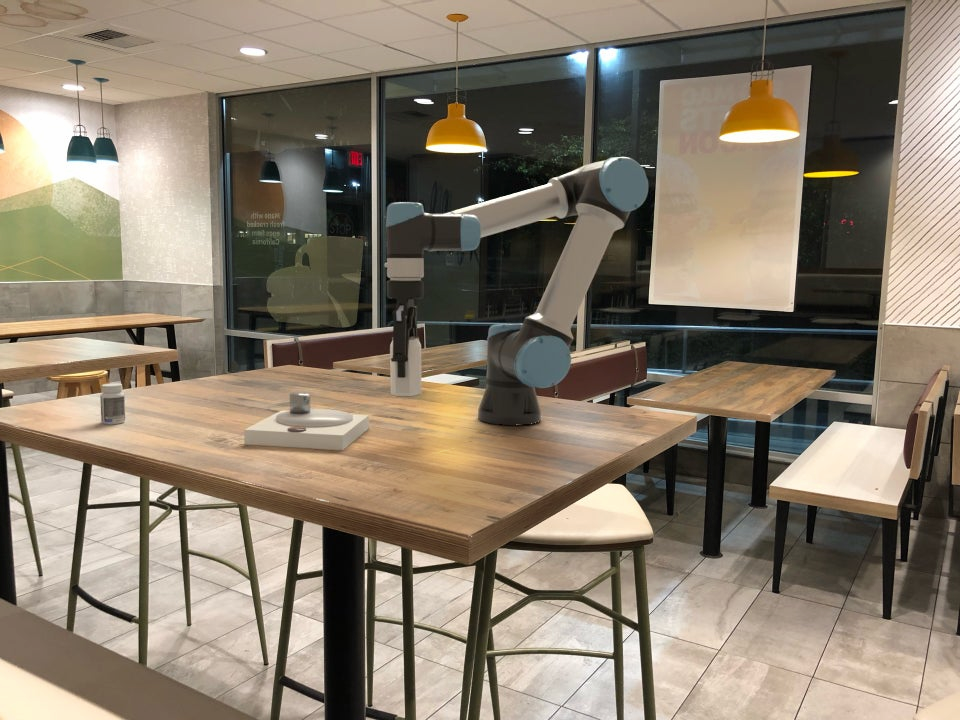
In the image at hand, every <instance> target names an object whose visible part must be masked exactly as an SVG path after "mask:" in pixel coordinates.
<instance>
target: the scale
mask: <svg viewBox="0 0 960 720" xmlns="http://www.w3.org/2000/svg"><path fill="white" fill-rule="evenodd" d="M369 427H370V415H369V414H357V413H356V414H355V413H350V412H347V411H344V410H339V409H326V408H310V413H307V414H292V413H290V410H279V411H278V412H276V413H273V414H271V415H270V416H268V417H266V418H264V419H262V420H259V421H258V422H256V423H253V425H250V426H248V427H247V428H244V431H243V434H244V435H243V437H244V438H243V439H244V441H243V442H244V446H245V445H247V446H262V447H263V446H264V447H265V446H266V447H281V448H296V449H297V448H298V449H314V450H315V449H316V450H328V451H329V450H333V451H344V450H346V448H347V447H349V446H350V445H351V444H352V443H353V442H354V441H356V440H357V439H358V438H359V437H361V436H362V435H363V434H364V433H365V432H366V431H367V430H369V429H370V428H369Z"/></svg>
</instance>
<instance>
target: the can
mask: <svg viewBox="0 0 960 720" xmlns="http://www.w3.org/2000/svg"><path fill="white" fill-rule="evenodd" d="M391 339H392V341H391V342H390V344H389V355H390V356H389V359H390V360H389V364H390V366H389V370H390V374H389V375H390V377H389V380H390V382H389V383H390V394H391V395H392V396H393V397H400V398H413V397H417V396H420V394H421V393H422V344H421V342H420V337H419V336H417V337H414V336H412V337H409V347H408V361H409V393H396V372H395V362H392V361H391V358H393V336H391Z"/></svg>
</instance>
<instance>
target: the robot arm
mask: <svg viewBox="0 0 960 720" xmlns="http://www.w3.org/2000/svg"><path fill="white" fill-rule="evenodd" d="M648 193H649V180H648V178H647V175H646V171H645V169H644V168H643V166H641V164H640V163H639V162H638V161H636V160H635V159H633V158H631V157H628V156H627V157H626V156H619V157H618V156H615V157H614V156H613V157H609V158H607V159H606V160H605V159H604V160H601V161H595V162H591V163H588V164H587V163H586V164H585V165H583V166H579V167H578V168H576V169H574V170H572V171H569V172H567V173H565V174H561V175H559V176H556V177H552V178H550V179H549V180H548V182H547V184H544V185H540V186H536V187H533V188H530V189H526V190H522V191H519V192H515V193H512V194H508V195H505V196H500V197H497V198H494V199H490V200H487V201H483V202H480V203H477V204H473V205H469V206H466V207H462V208H459V209H455V210H451V211H448V212H443V213H428V212H425V210H424V205H423V204H422V203H420V202H411V201H410V202H409V201H407V202H406V201H404V202H403V201H402V202H401V201H399V202H391V203H389V204H388V206H387V207H386V219H385V221H386V222H385V229H386V231H385V233H386V262H384V265H383V266H384V268H387V269H386V277H387V278H389V280H387V281H386V296H387V298H388V299H390V300H392V299H393V300H396V307H394V308H393V309H394V310H392V313H391V314H392V321H393V322H392V327H393V329H392V337H393V358H391V361H392V362H395V372H396V393H409V361H408V347H409V337H412V336H414V337H418V310H419V309H418V306H415V300H421V299H423V298H424V295H425V294H424V293H425V292H424V286H425V285H424V281H423V280H422V279H423V278H424V277H425V275H424V274H425V272H424V271H425V269H424V268H425V267H424V266H425V265H424V264H425V263H424V261H425V260H424V251H428V252H429V253H431V252H436V251H441V252H443V251H450V252H451V251H455V252H457V251H461V252H466V251H475V250H476V249H477V248H478V247H479V245H480V243H481V239H482V238H484V237H487V236H492V235H494V234H498V233H501V232H505V231H508V230H511V229H512V230H513V229H514V228H518V227H522V226H525V225H530V224H532V223H536V222H539V221H543V220H547V219H549V218H550V219H551V218H553V217H557V218H558V219H564V218H568V217H571V216H572V217H573V216H578V217H577V219H576V221H575V223H574V224H573V228H572V230H571V232H570V234H569V237H568V239H567V241H566V244H565V245H564V248H563V250H562V253H561V254H560V257H559V258H558V261H557V263H556V266H555V268H554V269H553V273H552V275H551V277H550V280H548V284H547V286H546V287H545V291H544V292H543V294H542V297H541V300H540V301H539V303H538V306H537V307H536V308H537V309H536V310H535V311H534V313H533V314H530V315H529V316H526V317H525V318H524V320H523V323H504V324H503V323H501V324H500V323H499V324H493V325H490V327H489V328H488V335H487V338H486V340H487V351H486V352H487V353H486V354H487V355H486V361H487V362H486V387H485V390H484V392H483V396H482V397H481V401H480V403H479V407H478V412H477V415H478V416H477V419H478V420H479V421H482V422H485V423H487V424H492V425H493V424H494V425H499V424H502V425H501V426H517V425H516V424H530V425H532V424H531V423H535V422H538V421H540V420H542V417H541V416H542V414H541V413H542V411H541V406H540V403H539V400H538V396H537V392H536V389H537V388H538V389H547V388H550V387H553V386H556V385H557V384H559V383H561V382H562V381H563V379H565V378H566V376H567V374H568V373H569V371H570V368H571V364H572V356H571V353H570V352H571V351H570V347H571V345H572V343H573V340H574V336H573V334H572V331H571V329H572V326H573V324H574V321H575V319H576V317H577V315H578V312H579V310H580V308H581V306H582V303H583V301H584V299H585V297H586V294H587V292H588V290H589V288H590V285H591V283H592V281H593V279H594V278H595V274H596V273H597V270H598V268H599V265H600V264H601V261H602V259H603V257H604V254H605V252H606V250H607V248H608V246H609V243H610V241H611V239H612V237H613V235H614V233H615V232H616V231H617V230H621V229H623V228H624V227H625V225H626V222H627V221H628V218H629V216H630V214H631V212H632V211H635V210H637V209H638V208H640V207H641V206H642V205H643V204H644V202H645V201H646V199H647V197H648ZM540 422H541V421H540ZM538 423H539V422H538ZM535 424H536V423H535Z"/></svg>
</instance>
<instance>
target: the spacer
mask: <svg viewBox="0 0 960 720" xmlns="http://www.w3.org/2000/svg"><path fill="white" fill-rule="evenodd" d="M310 409H311V393H310V392H306V391H305V392H304V391H302V392H301V391H299V392H298V391H296V392H291V393H289V411H290V413H292V414H307V413H310Z"/></svg>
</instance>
